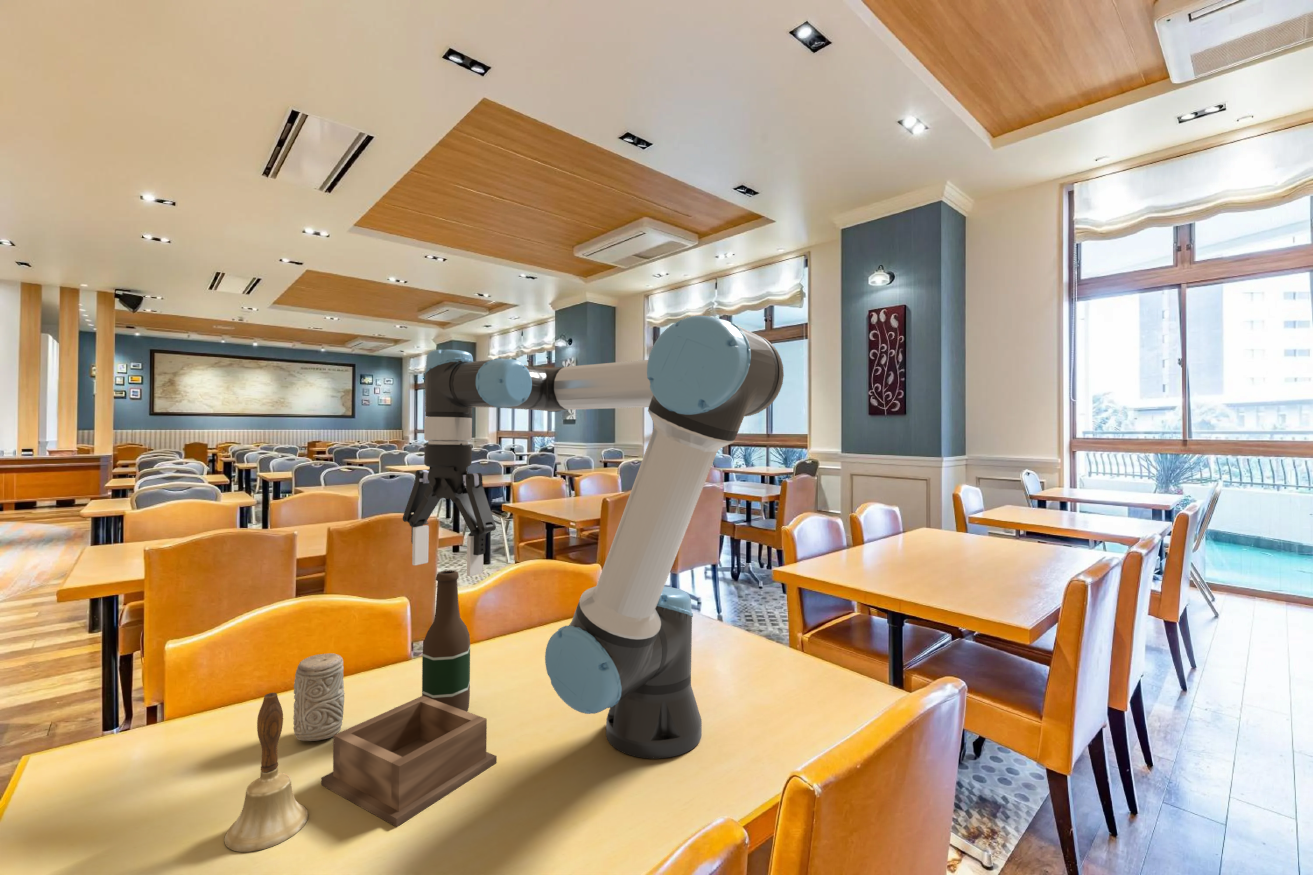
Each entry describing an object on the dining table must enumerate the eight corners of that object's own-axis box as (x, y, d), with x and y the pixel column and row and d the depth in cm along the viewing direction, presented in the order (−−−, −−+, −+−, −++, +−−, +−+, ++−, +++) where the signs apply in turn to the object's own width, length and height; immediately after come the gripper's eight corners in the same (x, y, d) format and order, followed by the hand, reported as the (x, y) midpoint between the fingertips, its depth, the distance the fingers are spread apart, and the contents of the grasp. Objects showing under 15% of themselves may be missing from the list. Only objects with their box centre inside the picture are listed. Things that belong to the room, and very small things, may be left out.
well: (496, 762, 83) (496, 717, 83) (396, 826, 69) (397, 772, 69) (423, 732, 91) (423, 691, 91) (321, 784, 77) (321, 736, 77)
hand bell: (322, 805, 73) (323, 679, 73) (282, 852, 65) (283, 710, 65) (255, 805, 73) (256, 679, 73) (206, 853, 65) (207, 710, 65)
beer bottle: (454, 728, 93) (456, 578, 93) (411, 722, 94) (412, 575, 94) (479, 706, 100) (480, 568, 100) (438, 701, 102) (439, 565, 102)
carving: (353, 724, 93) (354, 650, 93) (322, 749, 86) (323, 669, 86) (316, 722, 94) (317, 649, 94) (282, 747, 86) (283, 667, 86)
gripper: (519, 444, 94) (517, 574, 94) (419, 441, 107) (417, 556, 107) (483, 444, 88) (481, 584, 88) (382, 441, 100) (380, 563, 101)
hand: (446, 569), depth 97 cm, fingers open, 13 cm apart
